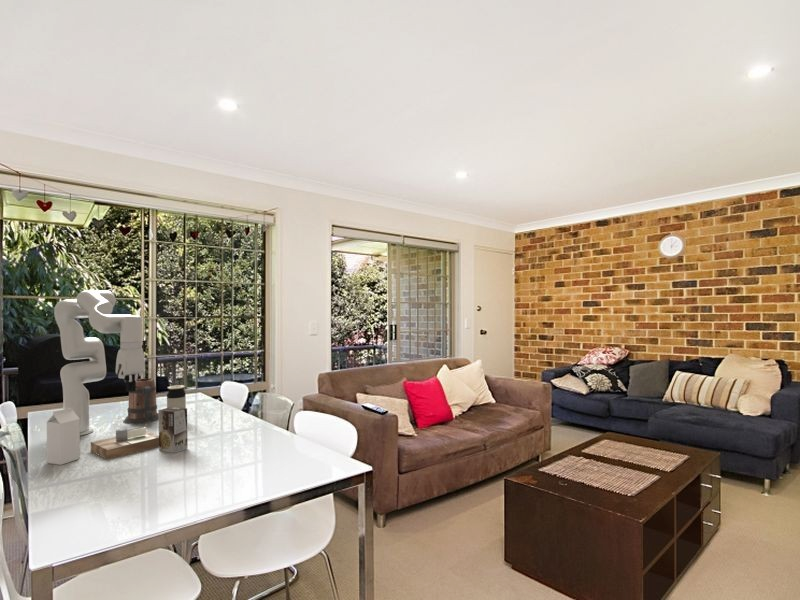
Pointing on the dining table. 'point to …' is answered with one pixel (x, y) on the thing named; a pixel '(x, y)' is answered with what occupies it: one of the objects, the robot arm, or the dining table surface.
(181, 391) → the travel mug
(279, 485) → the dining table surface
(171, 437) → the coffee box
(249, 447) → the dining table surface
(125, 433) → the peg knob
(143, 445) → the board
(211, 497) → the dining table surface
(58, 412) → the milk carton
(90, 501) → the dining table surface
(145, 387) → the tankard
